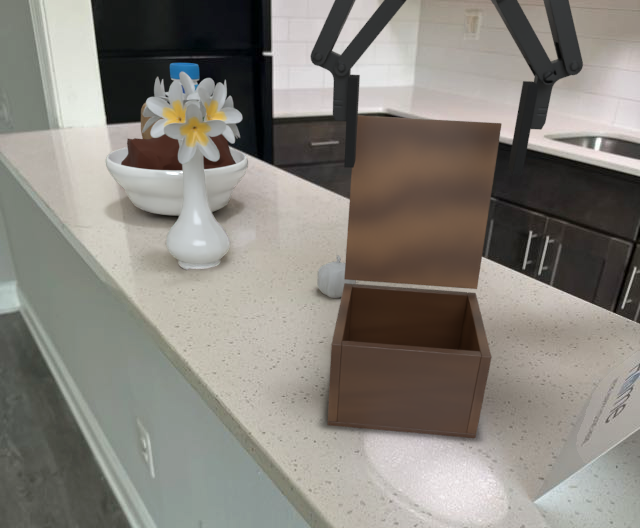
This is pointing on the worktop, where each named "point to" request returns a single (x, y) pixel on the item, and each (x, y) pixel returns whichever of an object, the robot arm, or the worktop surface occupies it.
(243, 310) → the worktop surface
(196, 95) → the flower vase
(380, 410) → the bread box
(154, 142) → the white bowl
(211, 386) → the worktop surface
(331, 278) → the garlic
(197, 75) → the beverage bottle
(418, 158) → the lid
